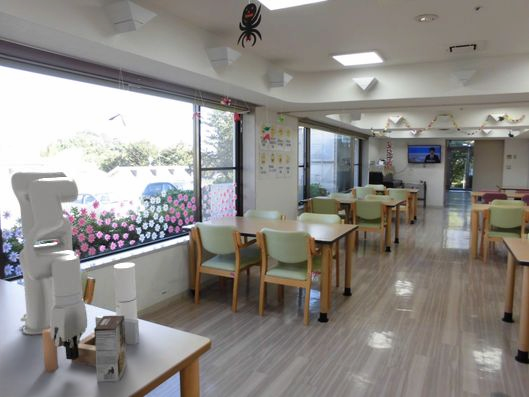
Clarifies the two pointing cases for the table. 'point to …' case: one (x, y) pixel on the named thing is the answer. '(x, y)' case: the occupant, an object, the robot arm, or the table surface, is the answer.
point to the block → (87, 351)
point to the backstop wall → (127, 330)
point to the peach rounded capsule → (49, 351)
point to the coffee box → (110, 348)
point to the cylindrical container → (125, 290)
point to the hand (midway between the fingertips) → (72, 358)
